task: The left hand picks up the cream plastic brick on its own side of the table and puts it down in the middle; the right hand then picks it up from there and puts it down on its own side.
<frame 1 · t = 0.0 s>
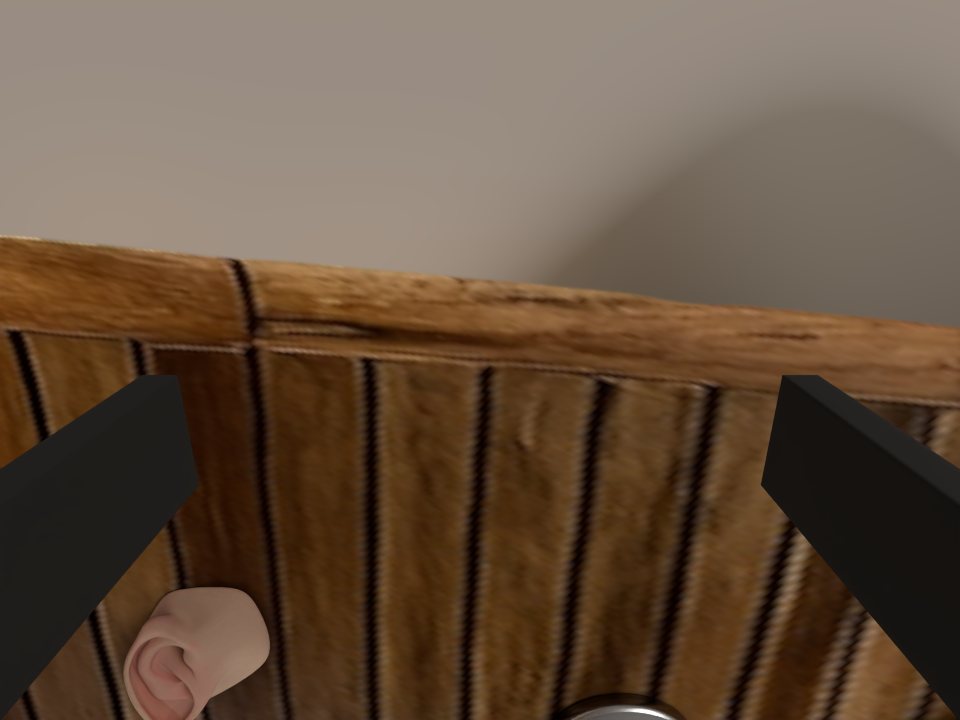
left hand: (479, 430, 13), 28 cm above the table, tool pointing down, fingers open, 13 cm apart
anatomical model: (204, 638, 51), on the table
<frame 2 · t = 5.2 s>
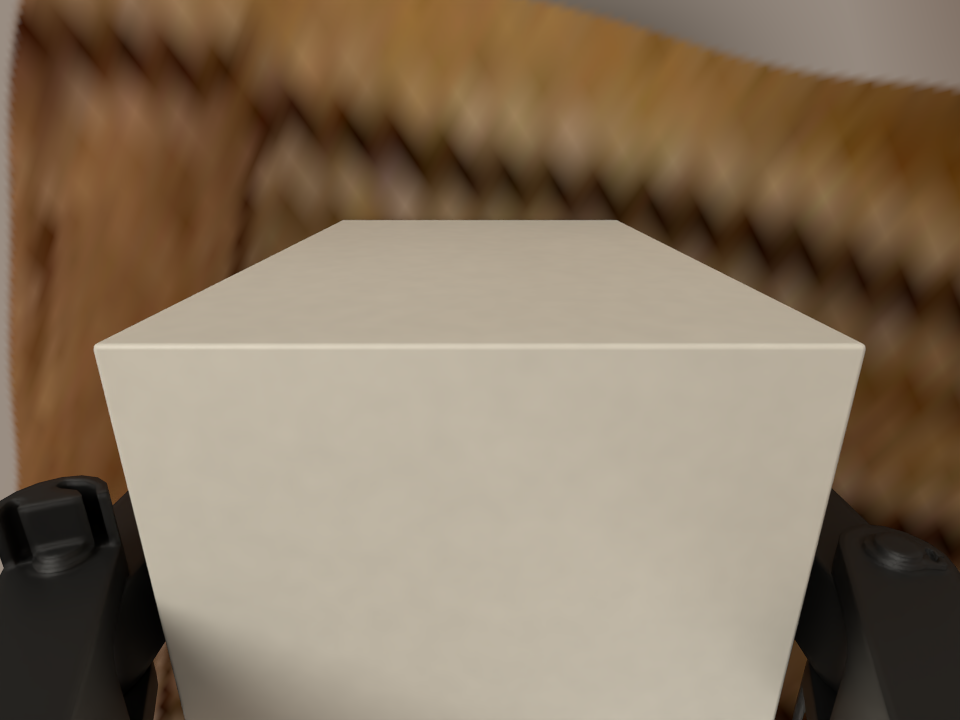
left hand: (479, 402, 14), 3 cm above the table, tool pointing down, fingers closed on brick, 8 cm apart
brick: (479, 359, 17), on the table, touching left hand
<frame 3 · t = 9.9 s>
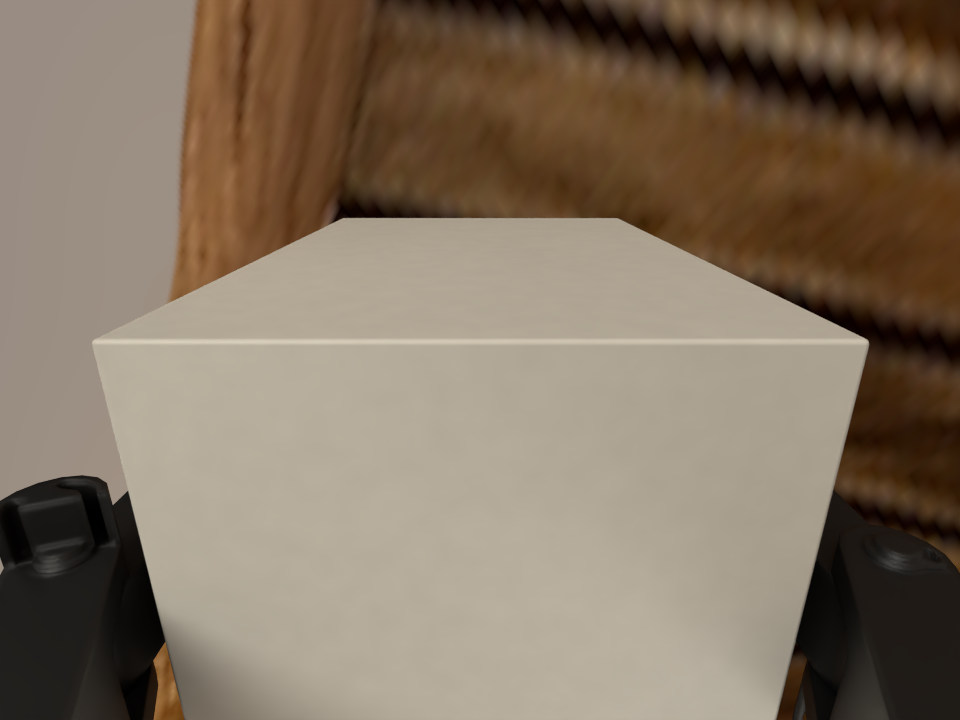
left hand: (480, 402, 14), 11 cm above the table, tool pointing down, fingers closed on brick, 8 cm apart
brick: (480, 358, 17), point 8 cm above the table, touching left hand
when the left hand's fingers open (4 cm above the table, at t = 14.7 s): brick drops 1 cm, on the table.
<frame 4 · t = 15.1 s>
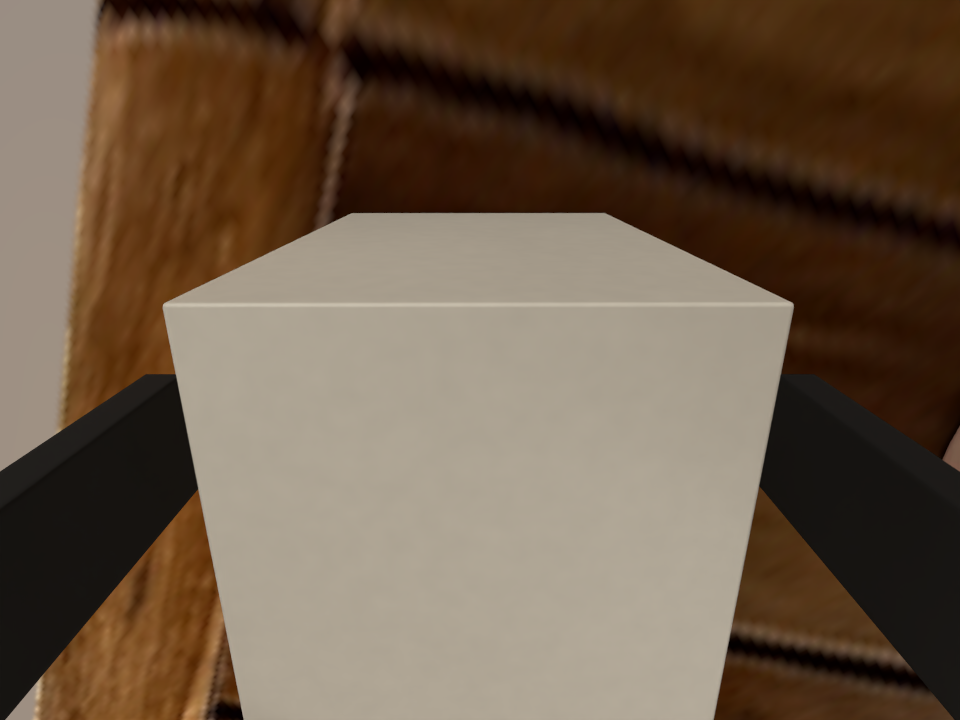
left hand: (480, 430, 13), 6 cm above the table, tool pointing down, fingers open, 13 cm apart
brick: (478, 343, 18), on the table
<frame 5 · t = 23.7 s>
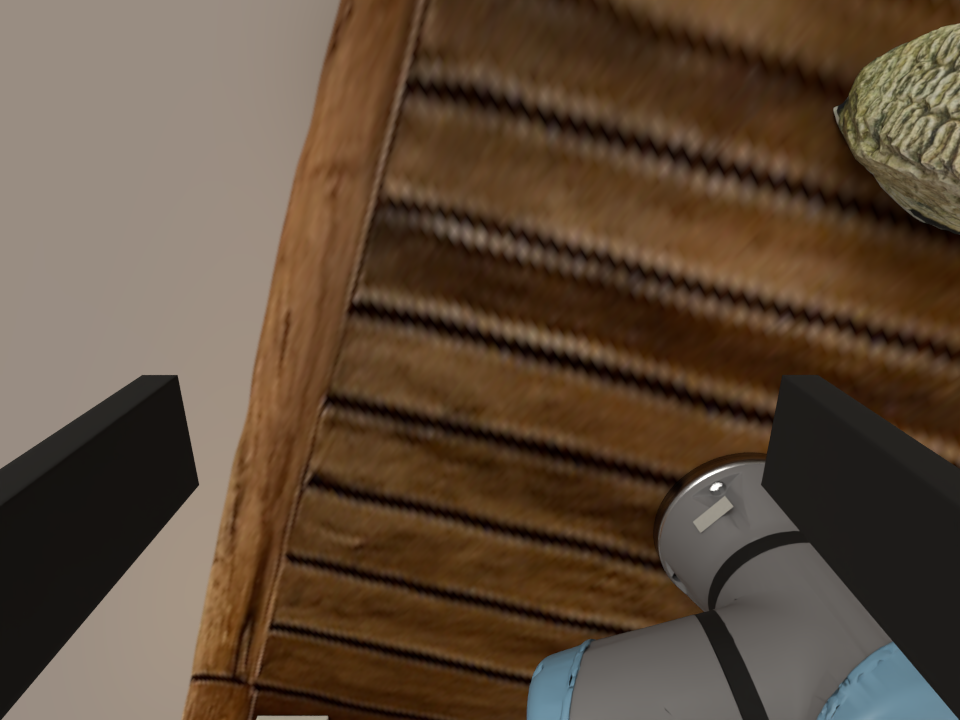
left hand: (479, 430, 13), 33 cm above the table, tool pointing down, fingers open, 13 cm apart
fossil: (917, 149, 41), on the table
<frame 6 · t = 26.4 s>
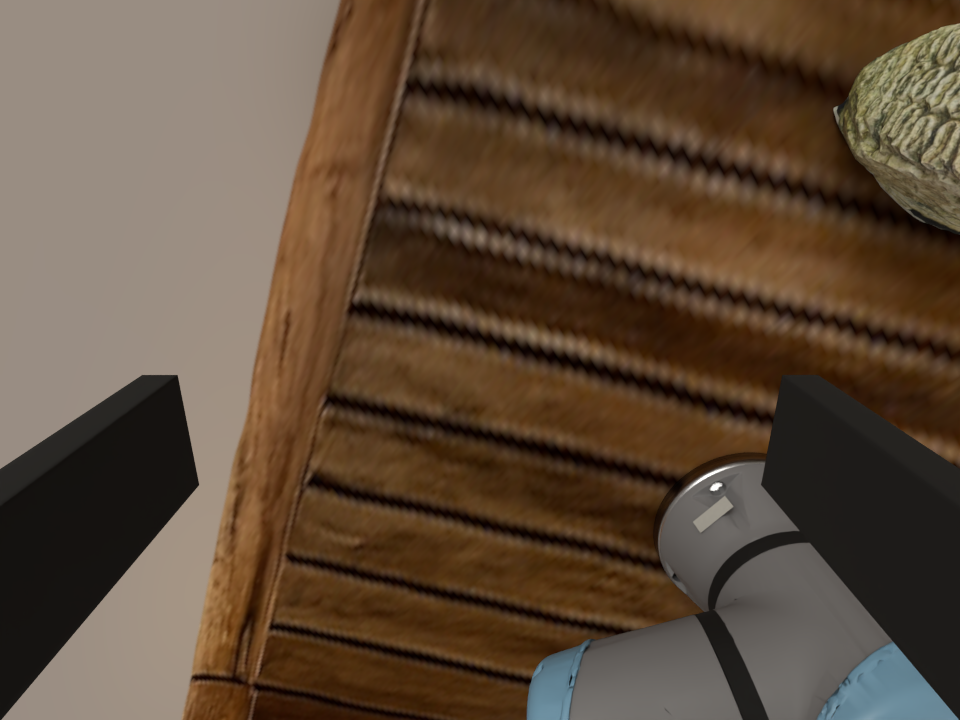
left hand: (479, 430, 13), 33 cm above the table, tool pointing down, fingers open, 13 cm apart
fossil: (917, 149, 41), on the table
when the right hand's fingers open (4 cm above the table, at t = 29.1 s): brick drops 1 cm, on the table.
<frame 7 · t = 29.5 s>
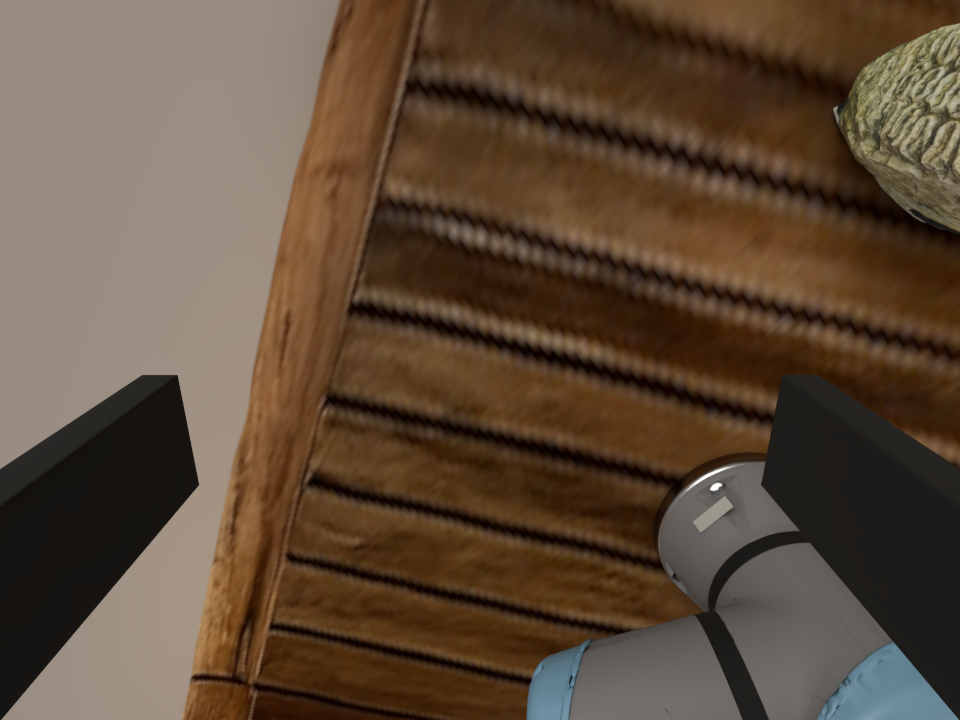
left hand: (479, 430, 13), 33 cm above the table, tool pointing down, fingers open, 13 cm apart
fossil: (917, 149, 41), on the table
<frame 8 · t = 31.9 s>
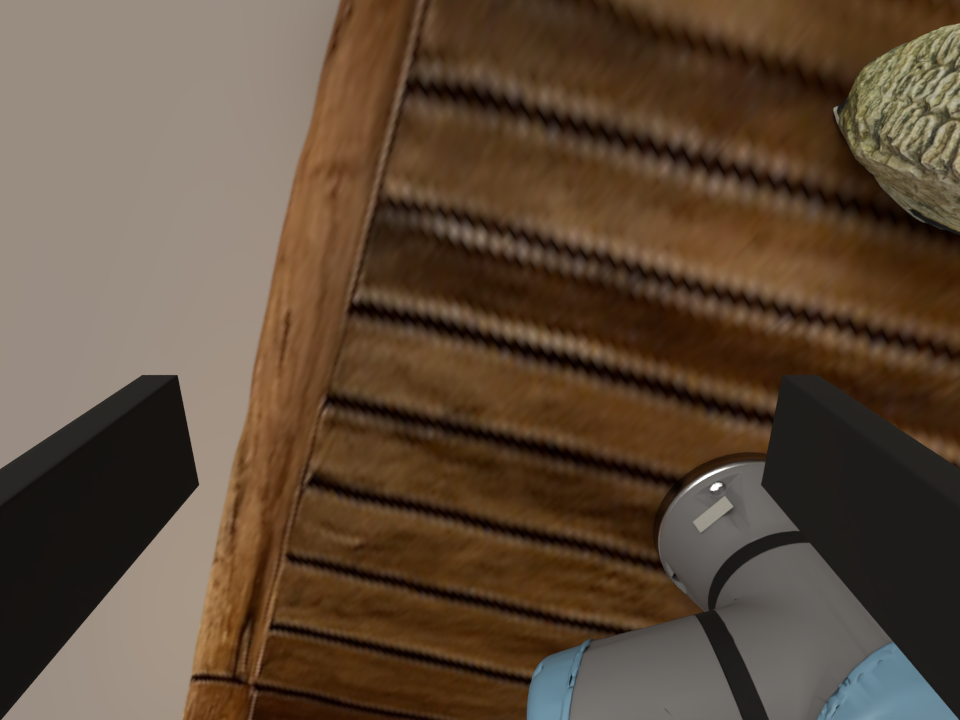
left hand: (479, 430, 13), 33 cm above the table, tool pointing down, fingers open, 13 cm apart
fossil: (917, 149, 41), on the table
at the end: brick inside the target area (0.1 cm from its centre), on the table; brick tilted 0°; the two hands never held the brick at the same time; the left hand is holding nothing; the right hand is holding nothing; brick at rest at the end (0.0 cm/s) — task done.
